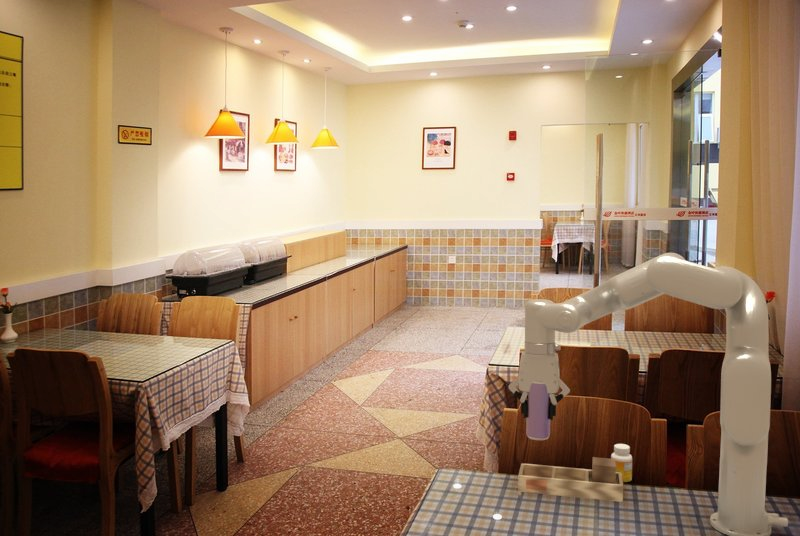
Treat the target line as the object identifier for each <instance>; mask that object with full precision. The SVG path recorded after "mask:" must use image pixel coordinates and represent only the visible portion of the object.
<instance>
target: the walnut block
mask: <svg viewBox="0 0 800 536" xmlns="http://www.w3.org/2000/svg"><path fill="white" fill-rule="evenodd" d="M591 467H592V469H591V470H592V482H599V483H610V484H616V463H615V459H611V458H607V457H596V456H592V466H591Z"/></svg>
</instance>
